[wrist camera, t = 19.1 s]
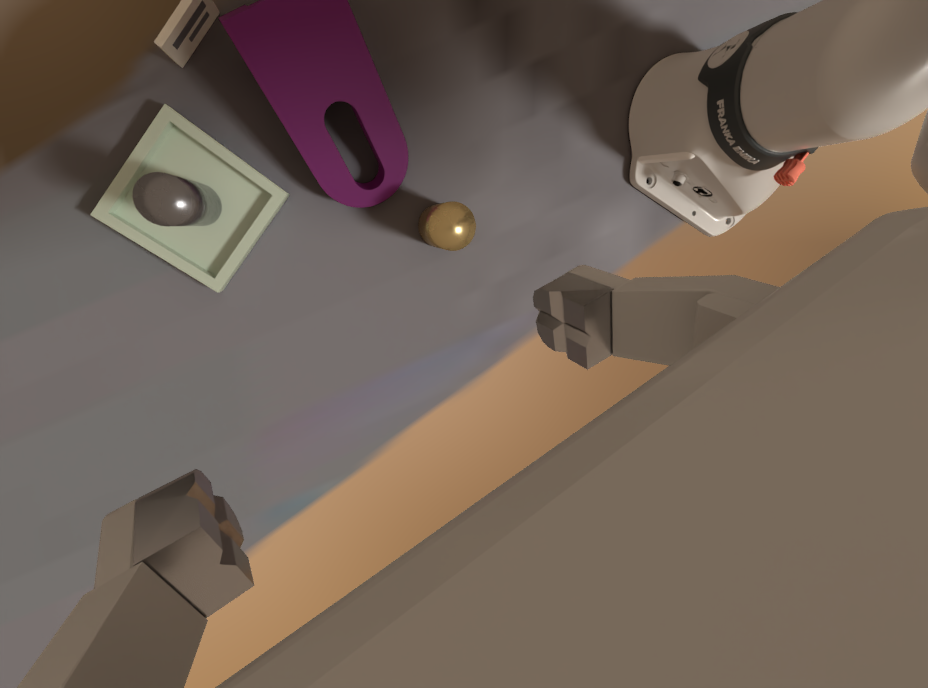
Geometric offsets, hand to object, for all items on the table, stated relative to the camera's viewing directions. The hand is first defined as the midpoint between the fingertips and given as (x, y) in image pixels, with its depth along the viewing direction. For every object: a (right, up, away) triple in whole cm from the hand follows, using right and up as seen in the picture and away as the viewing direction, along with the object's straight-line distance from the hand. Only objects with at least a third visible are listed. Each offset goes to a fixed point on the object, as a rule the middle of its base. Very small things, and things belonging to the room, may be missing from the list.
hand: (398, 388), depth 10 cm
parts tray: (-24, +15, +33) cm, 44 cm away
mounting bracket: (-12, +24, +35) cm, 44 cm away
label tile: (-23, +29, +30) cm, 47 cm away
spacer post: (-24, +14, +33) cm, 43 cm away
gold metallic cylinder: (-1, +14, +40) cm, 42 cm away
